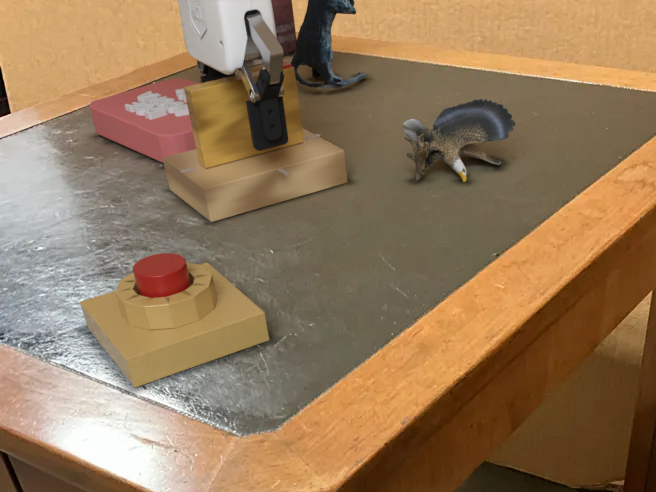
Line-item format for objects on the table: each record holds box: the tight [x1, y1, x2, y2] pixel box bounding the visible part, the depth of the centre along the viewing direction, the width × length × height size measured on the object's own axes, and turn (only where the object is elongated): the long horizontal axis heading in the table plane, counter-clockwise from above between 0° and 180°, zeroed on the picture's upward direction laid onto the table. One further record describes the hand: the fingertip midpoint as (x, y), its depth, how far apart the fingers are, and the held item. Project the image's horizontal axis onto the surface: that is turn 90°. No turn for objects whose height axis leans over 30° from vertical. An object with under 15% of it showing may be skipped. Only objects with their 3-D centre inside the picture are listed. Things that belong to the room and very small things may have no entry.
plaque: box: [88, 78, 200, 164], centre depth 96 cm, size 18×4×15 cm
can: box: [271, 0, 297, 57], centre depth 116 cm, size 5×5×12 cm
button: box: [132, 252, 191, 298], centre depth 61 cm, size 4×4×2 cm
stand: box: [163, 127, 349, 223], centre depth 84 cm, size 14×14×3 cm
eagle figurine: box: [402, 98, 516, 183], centre depth 82 cm, size 8×7×9 cm
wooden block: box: [184, 60, 304, 168], centre depth 81 cm, size 10×2×7 cm, turn 123°
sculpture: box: [290, 0, 367, 90], centre depth 103 cm, size 8×11×15 cm
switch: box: [79, 261, 270, 388], centre depth 63 cm, size 10×10×4 cm
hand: (247, 132), depth 82 cm, fingers open, 9 cm apart
